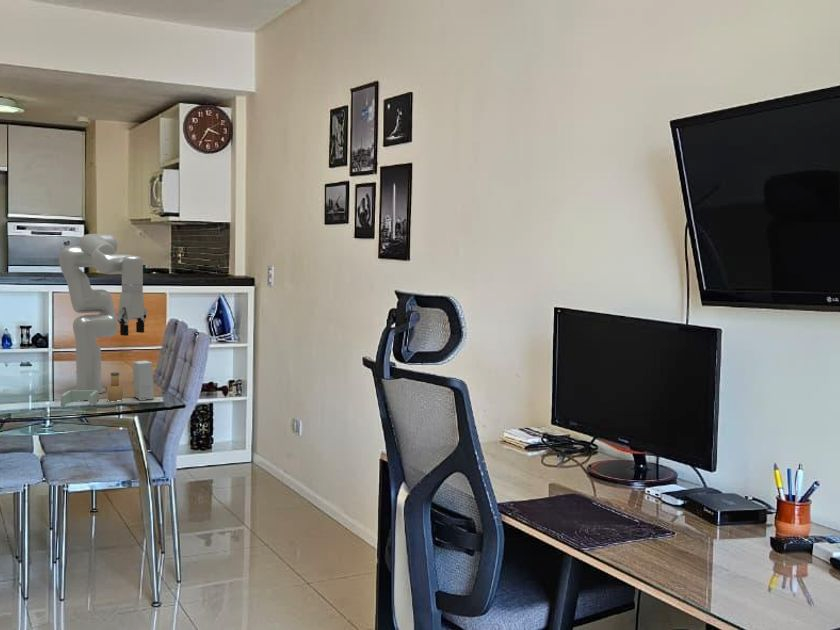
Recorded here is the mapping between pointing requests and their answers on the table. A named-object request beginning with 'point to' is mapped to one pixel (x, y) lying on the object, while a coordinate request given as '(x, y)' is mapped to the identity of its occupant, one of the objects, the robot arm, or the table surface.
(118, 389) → the bottle
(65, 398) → the u rest
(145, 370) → the skincare box
